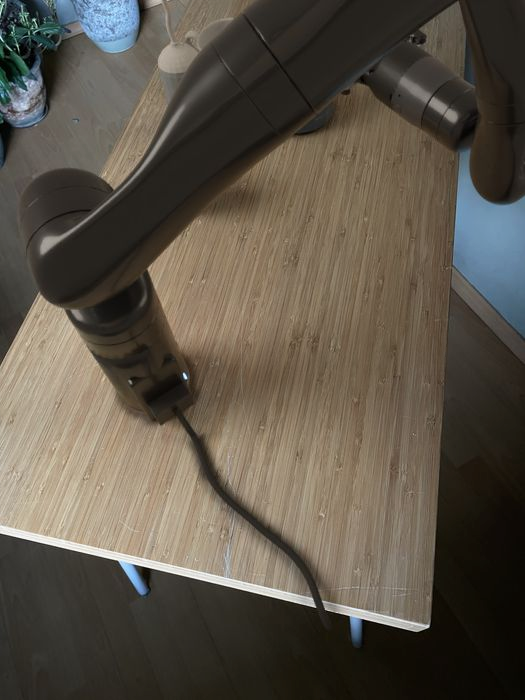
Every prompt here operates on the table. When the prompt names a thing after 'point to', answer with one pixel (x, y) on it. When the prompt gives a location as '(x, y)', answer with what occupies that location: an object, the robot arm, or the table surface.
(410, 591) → the table surface
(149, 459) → the table surface
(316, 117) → the bowl
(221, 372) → the table surface
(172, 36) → the humidifier
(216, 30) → the teacup
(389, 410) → the table surface
